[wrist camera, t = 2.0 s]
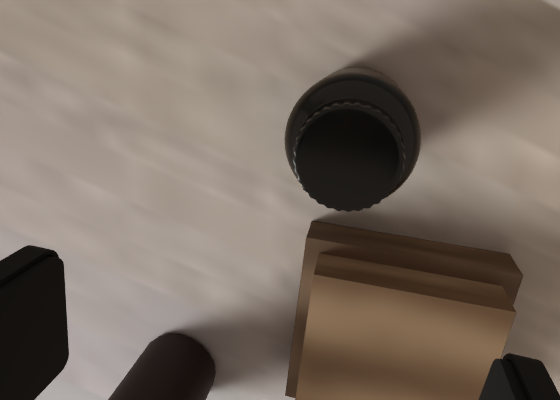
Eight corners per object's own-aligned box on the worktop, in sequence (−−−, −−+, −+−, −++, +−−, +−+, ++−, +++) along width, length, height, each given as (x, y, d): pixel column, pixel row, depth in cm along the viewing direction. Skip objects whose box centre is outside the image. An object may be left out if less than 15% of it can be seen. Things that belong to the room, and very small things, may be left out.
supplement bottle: (414, 157, 30) (439, 227, 19) (316, 173, 32) (285, 245, 21) (401, 53, 28) (420, 62, 17) (296, 76, 30) (251, 98, 19)
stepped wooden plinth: (311, 220, 33) (299, 257, 27) (509, 254, 31) (539, 301, 25) (291, 369, 38) (277, 425, 32) (460, 406, 36) (476, 473, 30)
